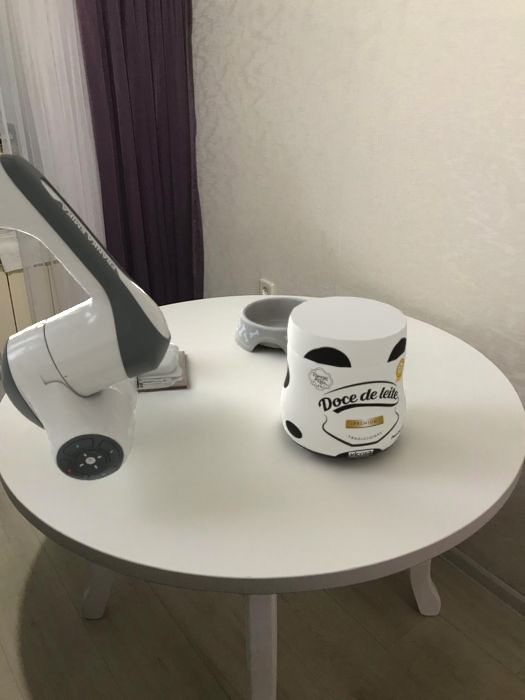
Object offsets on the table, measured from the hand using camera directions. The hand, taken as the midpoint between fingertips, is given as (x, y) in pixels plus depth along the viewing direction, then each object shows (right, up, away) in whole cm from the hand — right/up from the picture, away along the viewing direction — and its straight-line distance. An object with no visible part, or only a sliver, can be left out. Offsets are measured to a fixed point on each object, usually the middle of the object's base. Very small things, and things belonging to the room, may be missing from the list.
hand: (110, 343), depth 89 cm
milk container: (+34, -13, -5) cm, 37 cm away
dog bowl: (+27, +1, +25) cm, 37 cm away
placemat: (0, -5, +11) cm, 12 cm away
